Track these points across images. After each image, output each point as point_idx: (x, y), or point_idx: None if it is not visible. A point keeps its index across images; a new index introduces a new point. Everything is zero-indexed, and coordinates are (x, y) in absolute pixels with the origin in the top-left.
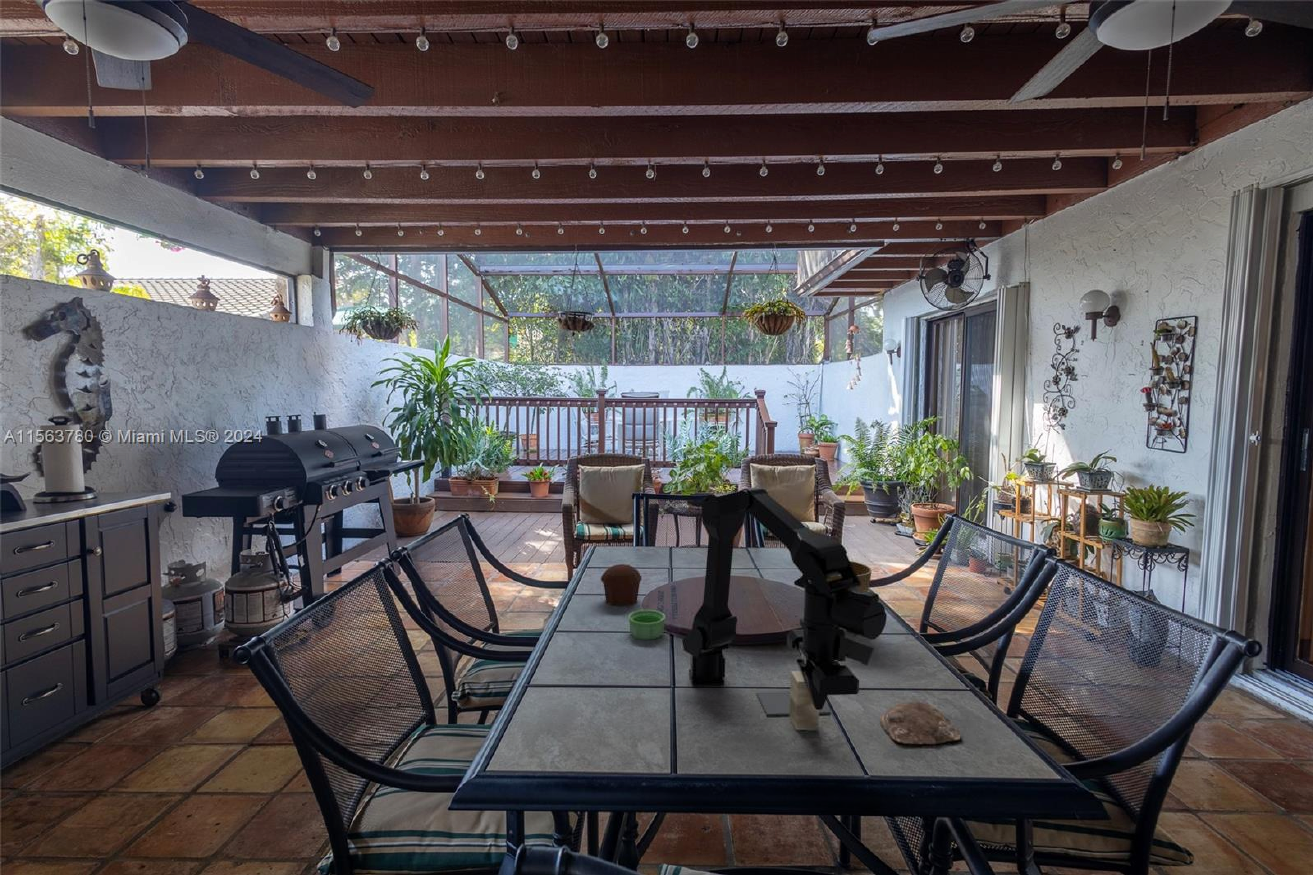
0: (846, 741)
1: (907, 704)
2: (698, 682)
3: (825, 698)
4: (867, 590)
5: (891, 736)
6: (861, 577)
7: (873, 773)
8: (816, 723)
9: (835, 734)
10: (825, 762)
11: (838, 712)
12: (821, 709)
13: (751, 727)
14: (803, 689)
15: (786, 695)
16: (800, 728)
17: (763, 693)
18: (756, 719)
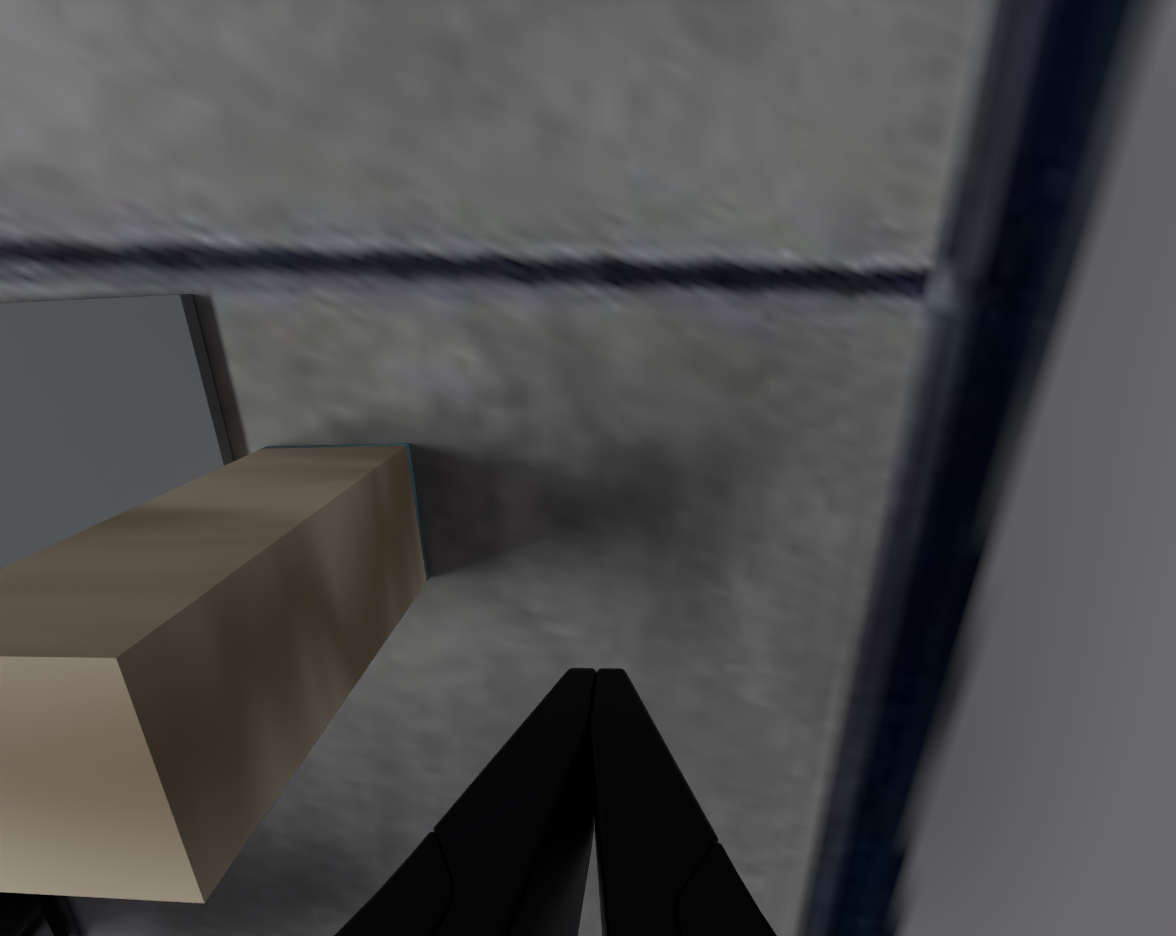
0: (535, 291)
1: None
2: (41, 932)
3: (683, 784)
4: None
5: None
6: None
7: (925, 227)
8: (391, 471)
9: (452, 343)
10: (761, 507)
11: (152, 220)
12: (621, 671)
13: (415, 783)
14: (251, 755)
15: (31, 538)
16: (421, 561)
17: None
18: (333, 744)
